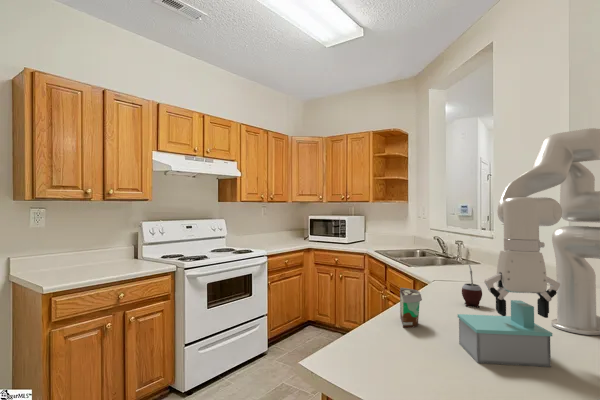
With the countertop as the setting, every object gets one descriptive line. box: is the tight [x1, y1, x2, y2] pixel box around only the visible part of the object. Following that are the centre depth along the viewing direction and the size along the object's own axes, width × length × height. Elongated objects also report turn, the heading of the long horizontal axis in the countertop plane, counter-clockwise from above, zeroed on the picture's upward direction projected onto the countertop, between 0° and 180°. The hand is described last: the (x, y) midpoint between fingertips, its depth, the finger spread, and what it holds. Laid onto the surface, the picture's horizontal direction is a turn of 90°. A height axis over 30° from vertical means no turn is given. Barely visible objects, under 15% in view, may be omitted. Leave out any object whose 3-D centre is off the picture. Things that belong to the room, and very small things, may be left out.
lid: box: [457, 299, 553, 337], centre depth 86 cm, size 17×13×7 cm
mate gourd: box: [461, 264, 483, 309], centre depth 132 cm, size 8×8×15 cm
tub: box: [458, 318, 552, 368], centre depth 86 cm, size 16×12×7 cm
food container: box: [399, 287, 423, 329], centre depth 109 cm, size 12×6×10 cm, turn 168°
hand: (522, 315), depth 85 cm, fingers open, 9 cm apart
